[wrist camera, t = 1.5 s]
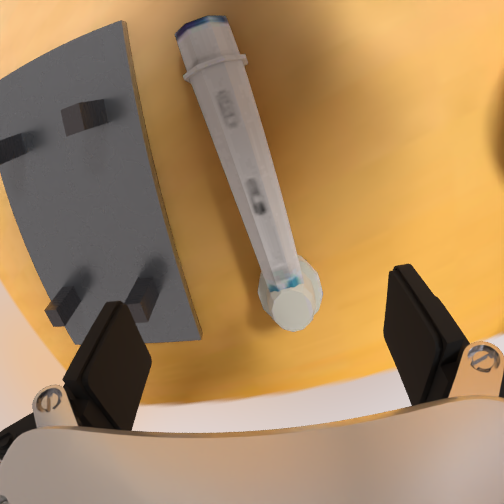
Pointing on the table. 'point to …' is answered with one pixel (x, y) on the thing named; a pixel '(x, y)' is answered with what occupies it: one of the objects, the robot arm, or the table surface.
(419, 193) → the table surface
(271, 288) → the white handheld device
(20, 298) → the table surface
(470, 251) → the table surface
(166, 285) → the peg stand
